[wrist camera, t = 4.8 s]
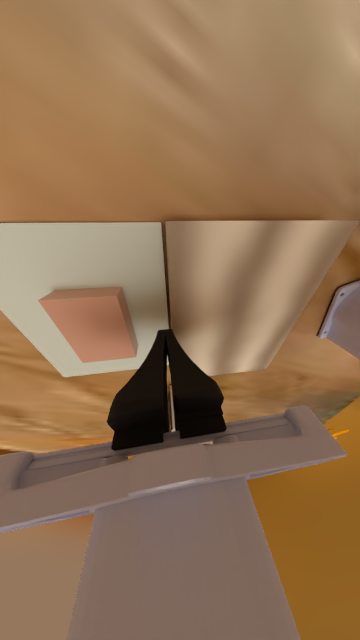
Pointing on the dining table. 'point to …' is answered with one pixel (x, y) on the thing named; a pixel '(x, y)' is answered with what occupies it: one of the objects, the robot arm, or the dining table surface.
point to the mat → (82, 282)
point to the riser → (245, 285)
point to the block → (93, 322)
